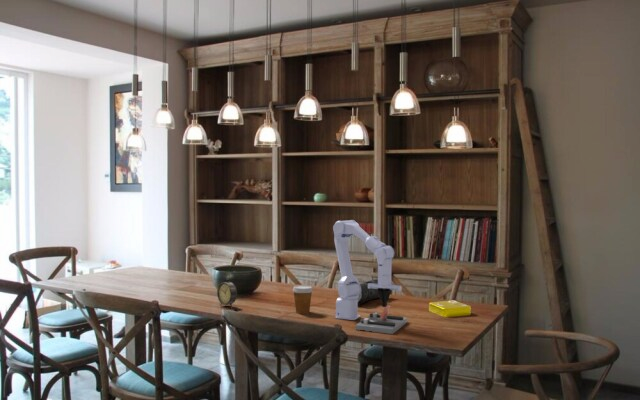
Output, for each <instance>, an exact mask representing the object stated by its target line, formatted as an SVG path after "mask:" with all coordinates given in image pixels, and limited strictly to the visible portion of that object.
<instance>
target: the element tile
mask: <svg viewBox="0 0 640 400" xmlns="http://www.w3.org/2000/svg"><path fill="white" fill-rule="evenodd" d="M428 303H429V304H428V311H429V312H430V313H433V314H435V315H438V316H441V317H443V318H450V317H463V316H471V313H472V312H471V309H472V307H471V305H469V304H466V303H463V302H460V301H457V300H453V299H452V300H444V301H443V300H442V301H431V302H428Z"/></svg>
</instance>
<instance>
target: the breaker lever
mask: <svg viewBox="0 0 640 400" xmlns="http://www.w3.org/2000/svg"><path fill="white" fill-rule="evenodd" d="M390 309H391V305H388V304H387V306H386V307H383V311H382V312H381V313H380V314H381V317H380V318H382V321H383V320H385V318H386V316H387V315H389V312H390Z"/></svg>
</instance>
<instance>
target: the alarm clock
mask: <svg viewBox="0 0 640 400" xmlns="http://www.w3.org/2000/svg"><path fill="white" fill-rule="evenodd" d="M227 275H228V276H229V278H227ZM224 278H225V280H226V282H221V283H220V284H219V285H218V286H217V292H216V295H217V300H218V302H219V303H220V304H219V306H222V305H223V306H228V305H229V306H230V308H231V309H232V308H233V304H234V303H235V302H236V301H237V297H238V290H237V287H236V285H235V284H234V283H233V282H231V281H229V280H230V279H231V276H230V274H229V273H225V275H224Z"/></svg>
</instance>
